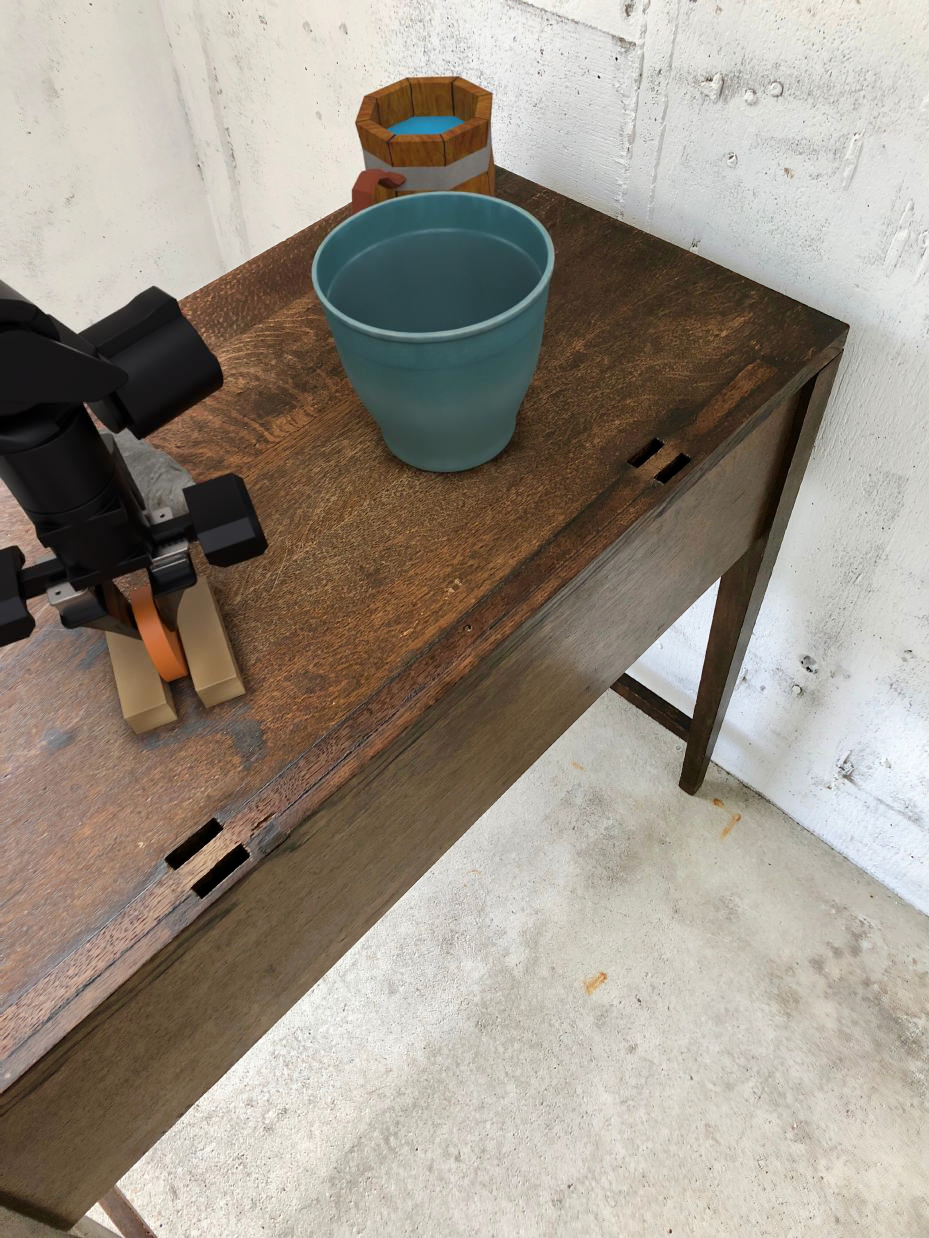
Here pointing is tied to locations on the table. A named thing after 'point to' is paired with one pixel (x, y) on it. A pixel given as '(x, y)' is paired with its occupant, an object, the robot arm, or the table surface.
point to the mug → (424, 140)
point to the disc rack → (205, 653)
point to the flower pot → (438, 319)
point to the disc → (158, 636)
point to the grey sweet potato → (154, 473)
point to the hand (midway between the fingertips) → (160, 631)
